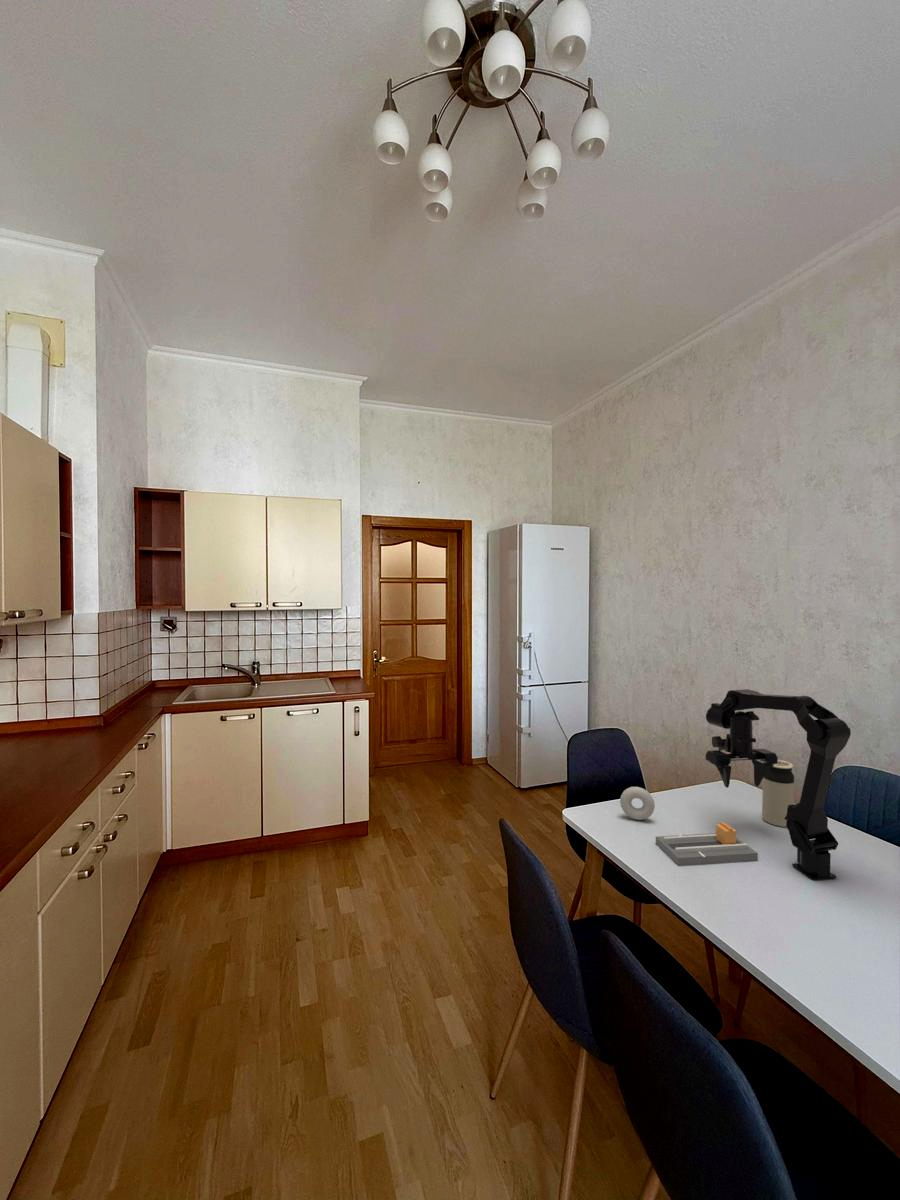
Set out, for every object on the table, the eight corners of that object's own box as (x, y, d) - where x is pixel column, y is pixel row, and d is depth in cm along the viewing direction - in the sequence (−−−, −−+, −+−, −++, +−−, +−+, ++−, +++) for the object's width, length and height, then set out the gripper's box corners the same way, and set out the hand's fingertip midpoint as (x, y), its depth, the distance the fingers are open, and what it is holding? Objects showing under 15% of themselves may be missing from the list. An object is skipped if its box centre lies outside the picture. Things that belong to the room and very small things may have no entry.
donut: (654, 819, 151) (654, 787, 151) (654, 824, 148) (655, 791, 148) (620, 814, 155) (620, 782, 155) (619, 819, 152) (619, 786, 151)
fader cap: (736, 845, 131) (736, 828, 131) (725, 846, 131) (725, 829, 131) (726, 838, 135) (726, 821, 135) (715, 838, 135) (716, 822, 135)
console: (758, 861, 128) (758, 849, 128) (678, 866, 126) (679, 854, 125) (728, 838, 139) (728, 828, 139) (655, 843, 137) (655, 832, 137)
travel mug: (798, 828, 145) (799, 768, 145) (768, 826, 147) (769, 766, 147) (786, 816, 153) (786, 759, 153) (757, 814, 155) (758, 757, 154)
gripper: (751, 725, 152) (752, 775, 152) (694, 726, 150) (694, 778, 150) (779, 734, 141) (779, 789, 141) (717, 736, 139) (717, 791, 139)
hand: (741, 786), depth 143 cm, fingers open, 9 cm apart
